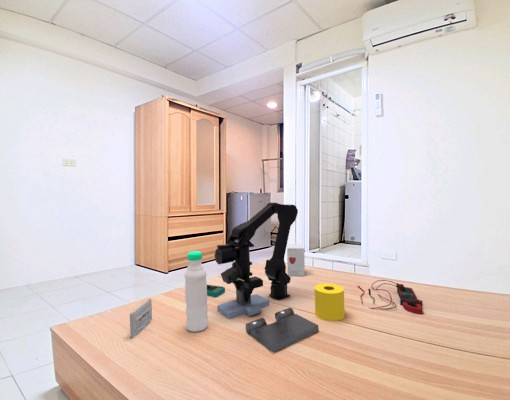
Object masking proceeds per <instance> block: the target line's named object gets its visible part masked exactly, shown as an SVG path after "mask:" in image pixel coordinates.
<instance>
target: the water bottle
mask: <svg viewBox="0 0 510 400" xmlns="http://www.w3.org/2000/svg"><path fill="white" fill-rule="evenodd" d="M202 261H203V253H202V251H198V250H197V251H196V250H195V251H190V252H188V253H187V262H188V265H187V267H186V270H185V272H184V279H185V280H184V281H185V283H184V284H185V285H184V290H185V291H184V294H185V295H184V297H185V304H186V306H185V307H186V308H185V317H186V320H185V322H186V329H187V330H188V331H189V332H192V333H193V332H194V333H196V332H197V333H198V332H202V331H203V330H205V329H207V328H208V326H209V316H208V314H209V313H208V310H209V309H208V296H207V285H208V284H207V271H206V269H205V267H204V265H203V264H202Z"/></svg>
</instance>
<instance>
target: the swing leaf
mask: <svg viewBox="0 0 510 400" xmlns="http://www.w3.org/2000/svg"><path fill="white" fill-rule="evenodd" d="M235 296H236V297H235V299H234V300H231V301H228V302H223V303H221V304H218V305H217V312H219V313H220V314H221V313H222V314H221V315H222V316H226V318H227V319H228V320H231V319H233V318H236V317H240V316H242V315H247V317H252V316H254V315H255V316H256V315H257V314H260V313H262V309H263V308H266V307H268V306H270V299H267V298H266V297H263V296H262V295H259V294H257V293H255V294H251V296H250V298H249V301H248V302H245V298H244V290H243V288H240V289H237V290H236V289H235Z"/></svg>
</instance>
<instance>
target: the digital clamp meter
mask: <svg viewBox="0 0 510 400" xmlns="http://www.w3.org/2000/svg"><path fill="white" fill-rule="evenodd" d="M381 281H382V282H383V281H385V282H390V283H381V284H380V285H378V286H377V287H376V288H374V287H373V285H374V284H375V283H377V282H381ZM382 285H390V286H393V287H396V293H397V295H398V297H399V299H400V300H399V302H400V306H402V308H403V309H404V310H405V311H407V312H409V313H410V314H415V315H423V300H421V299H418V297H417V295H416V293H415V291H414V289H413V288H412V287H407V286H405V285H404V284H403V283H398V282H393V281H391V280H386V279H385V280H384V279H379V280H376V281H374V282H373V283H372V284H371V288H370V287H369V288H368V289H367V290H368V295H369V296H370V297H371V298H373V299H374V296H372V294H371V291H372V289H373V290H375V291H385V292H387V293H388V294H389V297H390V299H388V298H386V297H383V296H382V295H380V294H379V293H378V294H377V295H378V296H379V297H381V298H382V299H385V300H387V301H389V302H390V303H389V304H387V305H383V306H377V307H369V309H370V310H373V309H374V310H375V309H379V310H382V308H384V307H386V310H391V309H395V308H397V304H396V302H394V301H393V300H392V295H391V293H390V292H389V291H388V290H387V289H380V288H379V287H381V286H382ZM357 288H358V289H359V290H361V291H362V292H363V293H361V294H360V295H359V297H360V300H361V304H362V305H364V301H363V298H362V296H363V295H364V294H365V290H364V289H363V288H362V287H361V286H360V285H357ZM378 288H379V289H378ZM372 303H373V304H375V301H373V302H372ZM392 303H393V305H395V306H394V307H393V306H392V307H390V308H389V307H388V306H390V305H391V304H392ZM387 307H388V308H387Z"/></svg>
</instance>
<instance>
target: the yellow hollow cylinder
mask: <svg viewBox="0 0 510 400" xmlns="http://www.w3.org/2000/svg"><path fill="white" fill-rule="evenodd" d="M314 314H315V316H316V317H317V318H319V319H320V320H323V321H327V322H338V321H342V320H343V319H345V316H346V315H345V289H344V287H343V286H342V285H340V284H335V283H328V282H327V283H326V282H325V283H320V284H319V283H318V284H316V285H315V286H314Z"/></svg>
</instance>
